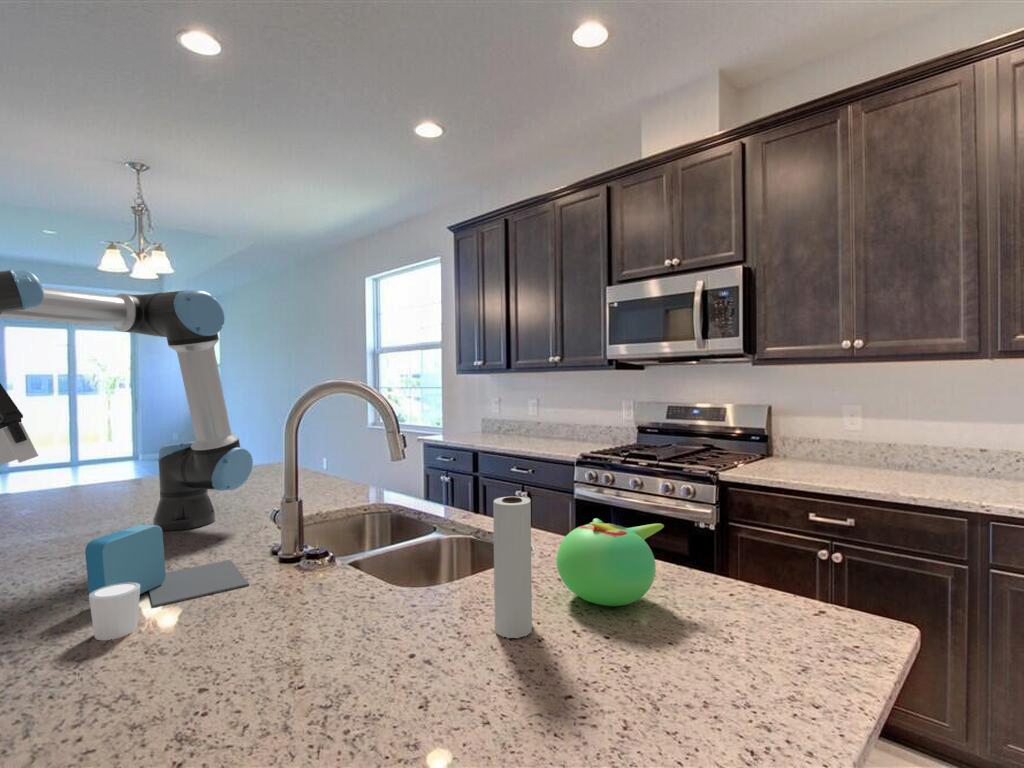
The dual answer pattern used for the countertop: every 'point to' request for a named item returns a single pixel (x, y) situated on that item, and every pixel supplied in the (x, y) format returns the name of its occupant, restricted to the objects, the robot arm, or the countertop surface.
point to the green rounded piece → (608, 562)
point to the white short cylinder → (115, 610)
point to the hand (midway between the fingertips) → (18, 461)
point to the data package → (127, 558)
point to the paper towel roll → (512, 566)
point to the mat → (197, 582)
